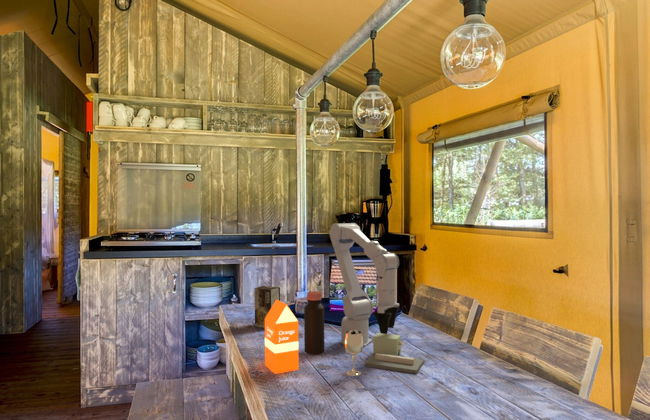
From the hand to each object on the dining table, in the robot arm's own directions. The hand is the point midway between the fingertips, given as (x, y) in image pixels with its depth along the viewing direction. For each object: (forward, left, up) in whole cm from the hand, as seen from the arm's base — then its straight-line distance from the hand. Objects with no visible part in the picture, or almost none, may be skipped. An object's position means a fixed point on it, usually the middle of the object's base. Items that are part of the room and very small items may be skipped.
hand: (387, 330), depth 147 cm
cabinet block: (0, 0, -8) cm, 8 cm away
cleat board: (+5, -9, -8) cm, 13 cm away
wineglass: (-4, -21, -8) cm, 23 cm away
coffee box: (-55, +14, -8) cm, 57 cm away
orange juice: (-26, -25, -8) cm, 37 cm away
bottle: (-23, -8, -8) cm, 26 cm away
